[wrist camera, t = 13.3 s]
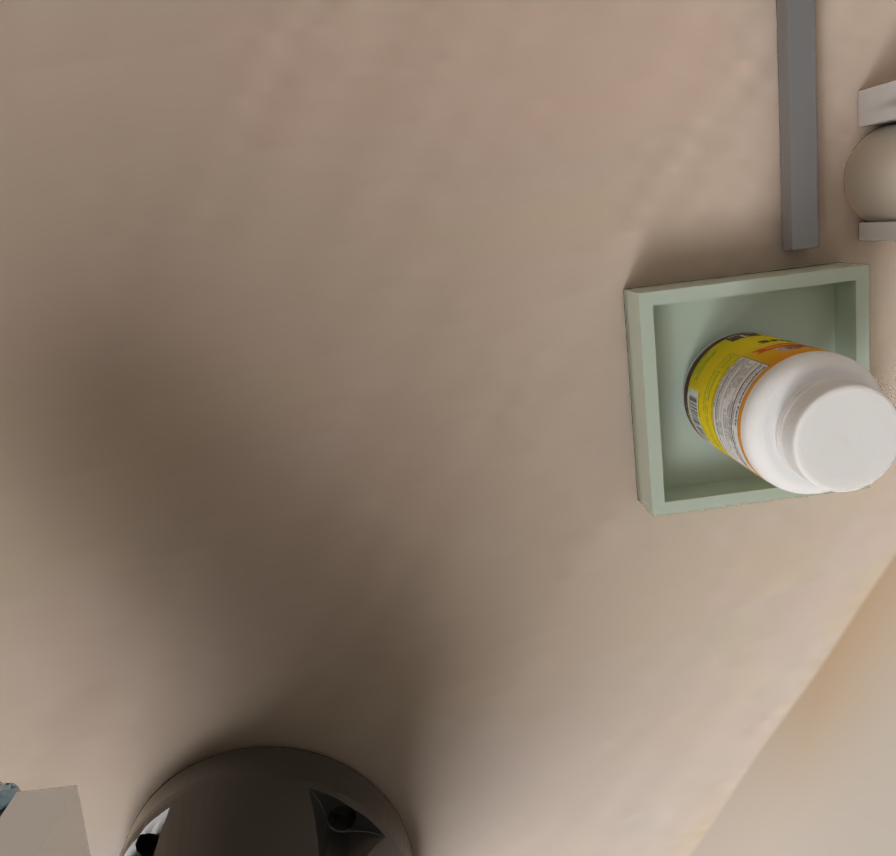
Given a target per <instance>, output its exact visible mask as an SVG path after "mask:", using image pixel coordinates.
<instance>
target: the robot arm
mask: <svg viewBox="0 0 896 856" xmlns="http://www.w3.org/2000/svg"><path fill="white" fill-rule="evenodd" d="M0 856H90V851H89V846H88V841H87V836H86V830H85V825H84V820H83V815H82V809H81V804H80V799H79V794H78V788H77V786H68V787H58V788H49V789H40V790H31V791H22V792H21V790H20V789H19V788H18V786H17V785H15V784H14V783H2V782H0ZM120 856H412V850H411V845H410V842H409V838H408V835H407V832H406V830H405V827H404V825H403V823H402V821H401V819H400V817H399V816H398V814H397V812H396V810H395V809H394V808H393V806H392V805H391V803H390V802H389V801H388V800H387V798H386V797H385V796H384V795H383V794H382V793H381V792H380V791H379V790H378V789H377V788H376V787H375V786H374V785H373V784H372V783H371V782H369V781H368V780H367V779H365V778H364V777H363V776H361V775H360V774H359V773H357V772H355V771H354V770H352V769H351V768H349V767H347V766H345V765H343V764H341V763H339V762H337V761H335V760H332V759H330V758H327V757H324V756H322V755H318V754H315V753H312V752H307V751H303V750H297V749H291V748H281V747H256V748H246V749H240V750H234V751H230V752H226V753H222V754H219V755H216V756H213V757H210V758H207V759H205V760H202V761H200V762H198V763H196V764H194V765H192V766H190V767H188V768H187V769H185V770H183V771H182V772H180V773H179V774H177V775H176V776H174V777H173V778H171V779H170V780H169V781H168V782H166V783H165V784H164V785H163V786H162V787H161V788H160V789H159V790H158V791H157V792H156V793H155V794H154V795H153V796H152V797H151V798H150V799H149V801H148V802H147V803H146V804H145V806H144V807H143V809H142V810H141V812H140V813H139V815H138V816H137V818H136V820H135V822H134V824H133V826H132V828H131V831H130V833H129V835H128V838H127V840H126V842H125V844H124V847H123V849H122V851H121V854H120Z"/></svg>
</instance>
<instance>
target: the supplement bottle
mask: <svg viewBox="0 0 896 856" xmlns="http://www.w3.org/2000/svg"><path fill="white" fill-rule="evenodd" d="M683 405H684V410H685V413H686V416H687V418H688V420H689V422H690V424H691V425H692V427H693V428H694V430H695V431H696V432H697V433H698V434H699V435H700V436H701V437H702V438H703V439H705V440H706V441H707V442H709V443H710V444H712V445H713V446H715V447H716V448H717V449H719V450H720V451H722V452H723V453H725V454H726V455H728V456H729V457H731V458H732V459H734V460H735V461H737V462H738V463H740V464H741V465H743V466H744V467H746V468H747V469H749V470H750V471H752V472H753V473H755V474H756V475H758V476H759V477H761V478H762V479H764V480H765V481H767V482H769V483H771V484H773V485H774V486H776V487H778V488H780V489H783V490H786V491H789V492H793V493H797V494H819V493H824V492H829V491H833V492H849V491H854V490H857V489H860V488H863V487H865V486H867V485H869V484H871V483H873V482H874V481H876V480H877V479H878V478H880V477H881V476H882V475H883V474H884V473H885V472H886V471H887V470H888V469H889V467H890V466H891V464H892V463H893V461H894V460H895V458H896V408H895V406H894V404H893V403H892V402H891V400H890V399H889V398H888V397H887V396H885V395H884V394H883V392H882V389H881V387H880V386H879V384H878V382H877V381H876V379H875V378H874V377H873V375H872V374H871V373H870V372H869V371H868V370H867V369H866V368H865V367H863V366H862V365H861V364H860V363H858V362H856V361H854V360H852V359H851V358H848V357H846V356H843V355H840V354H837V353H833V352H830V351H826V350H822V349H818V348H814V347H811V346H807V345H803V344H799V343H796V342H791V341H788V340H783V339H779V338H776V337H772V336H768V335H764V334H759V333H753V332H741V333H735V334H730V335H726V336H724V337H721V338H719V339H717V340H715V341H714V342H712V343H711V344H709V345H708V346H706V347H705V348H704V349H703V350H702V351H701V352H700V353H699V354H698V355H697V356H696V358H695V359H694V360H693V362H692V364H691V365H690V367H689V369H688V372H687V374H686V377H685V380H684V385H683Z"/></svg>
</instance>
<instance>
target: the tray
mask: <svg viewBox="0 0 896 856" xmlns="http://www.w3.org/2000/svg"><path fill="white" fill-rule="evenodd" d="M623 294H624V308H625V323H626V337H627V352H628V366H629V381H630V395H631V410H632V424H633V439H634V453H635V468H636V482H637V497H638V501H639V502H640V503H641V504H642V505H643V506H644V507H645V508H646V509H647V511H648V512H649V513H650V514H651V515H652V516H660V515H668V514H675V513H683V512H690V511H698V510H705V509H713V508H720V507H728V506H735V505H743V504H750V503H758V502H765V501H773V500H780V499H788V498H795V497H803V496H810V495H818V494H797V493H793V492H789V491H786V490H783V489H780V488H778V487H776V486H774V485H773V484H771V483H769V482H767V481H765V480H764V479H762V478H761V477H759V476H758V475H756V474H755V473H753V472H752V471H750V470H749V469H747V468H746V467H744V466H743V465H741V464H740V463H738V462H737V461H735V460H734V459H732V458H731V457H729V456H728V455H726V454H725V453H723V452H722V451H720V450H719V449H717V448H716V447H715V446H713V445H712V444H710V443H709V442H707V441H706V440H705V439H703V438H702V437H701V436H700V435H699V434H698V433H697V432H696V431H695V430H694V428H693V427H692V425H691V424H690V422H689V420H688V418H687V416H686V413H685V410H684V405H683V385H684V380H685V377H686V374H687V372H688V369H689V367H690V365H691V364H692V362H693V360H694V359H695V358H696V356H697V355H698V354H699V353H700V352H701V351H702V350H703V349H704V348H705V347H706V346H708V345H709V344H711V343H712V342H714V341H715V340H717V339H719V338H721V337H724V336H726V335H730V334H735V333H741V332H753V333H759V334H764V335H768V336H772V337H776V338H779V339H783V340H788V341H791V342H796V343H799V344H803V345H807V346H811V347H814V348H818V349H822V350H826V351H830V352H833V353H837V354H840V355H843V356H846V357H848V358H851V359H852V360H854V361H856V362H858V363H860V364H861V365H862V366H863V367H865V368H866V369H867V370H868V371H869V372H870V317H869V265H867V264H853V263H832V264H824V265H816V266H808V267H800V268H792V269H784V270H776V271H768V272H760V273H752V274H744V275H736V276H728V277H720V278H712V279H704V280H696V281H688V282H680V283H671V284H663V285H655V286H647V287H639V288H631V289H623ZM863 488H870V484H869V485H867V486H865V487H863ZM863 488H860V489H863ZM825 493H833V491H829V492H824V493H819V494H825Z"/></svg>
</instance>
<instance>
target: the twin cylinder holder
mask: <svg viewBox="0 0 896 856" xmlns="http://www.w3.org/2000/svg"><path fill="white" fill-rule="evenodd" d="M776 8H777V47H778V87H779V126H780V166H781V205H782V245H783V250H800V249H808V248H816V247H819V237H818V173H817V109H816V45H815V0H776ZM858 111H859V127H860V126H868V125H877V124H885V123H894V122H896V80H895V81H891V82H888V83H884V84H881V85H878V86H874V87H871V88H868V89H864V90H861V91H858ZM844 190H845V194H846V197H847V200H848V202H849V204H850V206H851V208H852V209H853V210H854V212H855V213H856V214H857V215H858V216H860V217H861V218H862V219H864V220H865V221H867V222H860V223H859V240H864V241H896V124H894V125H889V126H884V127H881V128H879V129H877V130H874V131H873V132H871V133H869V134H868V135H867V136H865V137H864V138H863V139H862V140H861V141H860V142H859V143H858V144H857V145H856V147H855V148H854V150H853V151H852V153H851V155H850V157H849V159H848V161H847V164H846V168H845V173H844Z"/></svg>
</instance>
